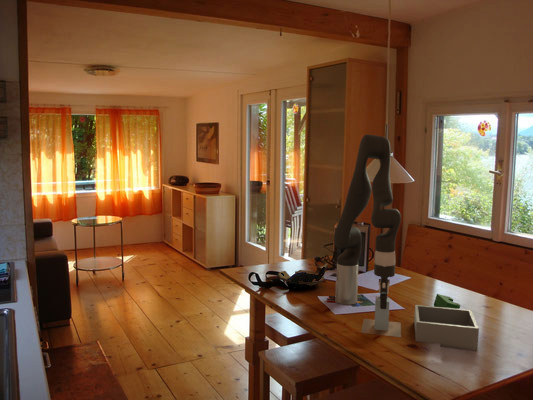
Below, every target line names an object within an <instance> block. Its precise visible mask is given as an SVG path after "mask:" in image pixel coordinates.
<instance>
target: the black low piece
mask: <svg viewBox="0 0 533 400" xmlns="http://www.w3.org/2000/svg"><path fill="white" fill-rule="evenodd" d="M328 266H329V264H328V263H324V264H323V265H321V266H319V265H317V266H316V270H315V271H311V270H306V269H299V270H295V271H294V275H295V274H296V273H299V272H306V273H309V274H315V275H318V274H319V272H320V271H321V269H322V268H323V267H325V270H326V269H327V268H328ZM281 273H283V274H284V276H283V275H282V274H281ZM277 276H278V279H279V280H280V281H283V282H286V283H287V282H290V281H291V280H288V279H289V278H290V277H292V276H290V275H289V273H288V272H287V271H286V270H281V271H279V272H278V274H277ZM324 280H325V277H324V275H323V276H322V278H321V279H320V280H319V281H312V282H303V281H298V282H299V284H307V285H309V286H308V287H310V286H311V287H312V286H316V285H318V284H320V283H322V282H324Z"/></svg>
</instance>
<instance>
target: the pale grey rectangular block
mask: <svg viewBox="0 0 533 400" xmlns="http://www.w3.org/2000/svg"><path fill="white" fill-rule="evenodd" d="M390 299H391V298H390V297H387V308H386V309H381V308H380V296H375V302H374V303H375V304H374V320H375V325H374V329H376V330H385V331H388V325H389V319H390Z"/></svg>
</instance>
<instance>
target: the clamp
mask: <svg viewBox="0 0 533 400" xmlns="http://www.w3.org/2000/svg"><path fill="white" fill-rule="evenodd" d="M433 307H443V308H454V309H461V304H460V303H458V302H455V301H454V299H453V298H452V297H450V296H447V295H443V294H439V293H436V296H435V299H434V302H433Z"/></svg>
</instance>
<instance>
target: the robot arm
mask: <svg viewBox="0 0 533 400" xmlns="http://www.w3.org/2000/svg"><path fill="white" fill-rule="evenodd" d="M369 159H374V160H378V161H379V168H378V170H377V172H376V174H375V176H374V178H373V180H372V183H371V179H370V178H369V175H368V171H367V164H368V161H369ZM355 161H356V162H355V165H354V171H353V174H352V176H351V177H352V178H351V180H350V184H349V187H348V190H347V195H346V197H345V198H346V199H345V202H344V205H343V209H342V211H341V215H340V216H339V217H340V218H339V221H338V223H337V225H336V228H335V230H334V234H333V245H334V246H335V248H337V249H338V250H343V252H342V253H340V255H338V256H337V258H336V280H335V294H334V295H335V299H334V301H335V303H337V304H341V305H347V306H348V305H355V304H357V303H358V286H359V284H358V283H359V282H358V281H359V262H360V258H361V254H362V253H361V251H362V241H363V240H362V233H361V231H360V229H359V228H357V227H356V226H353V225H354V223H355V222H356V220H357V219H358V217H359V216H360V215H362V213H363V212H364V210H365V209H366V208H367V206H368V204H369V202H370V199H371V195H372V198H373V203H372V205H373V207H372V211H371V217H370V222H371V224H372V226H373V227H374V228H376V229H388V230H387V231H386V232H384V233H380V234H377V235H376V236H375V251H374V256H373V257H374V260H373V261H374V262H373V263H374V264H373V266H374V267H373V271H374V272H373V273H374V276H377V277H379V278H378V293H379V297H380V308H381V309H386V308H387V298H388V294H389V292H390V286H391V285H390V281H391V279H389V278H393V277H394V276H395V275H396V238H397V234H398V231H399V229H400V225H401V222H402V214H401V212H400V211H399V210H398V209H397V208H384V207H388V206H390V205H391V204H392V203H393V201H394V197H393V191H392V184H391V143H390V140H389V138H388V137H386V136H381V135H376V134H375V135H374V134H364V135H363V136H362V137H361V139H360V143H359V146H358V151H357V156H356V160H355Z"/></svg>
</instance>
